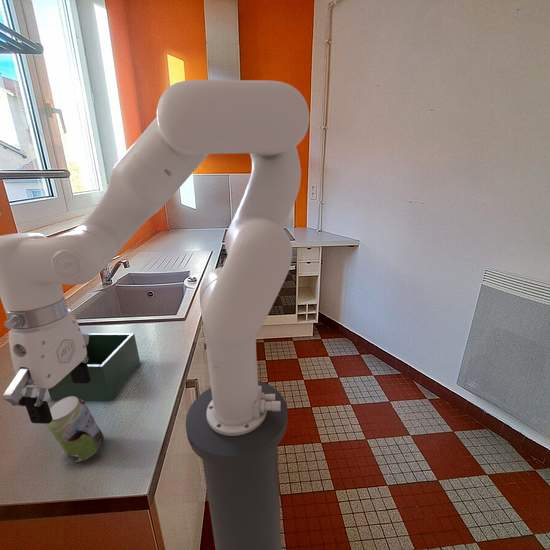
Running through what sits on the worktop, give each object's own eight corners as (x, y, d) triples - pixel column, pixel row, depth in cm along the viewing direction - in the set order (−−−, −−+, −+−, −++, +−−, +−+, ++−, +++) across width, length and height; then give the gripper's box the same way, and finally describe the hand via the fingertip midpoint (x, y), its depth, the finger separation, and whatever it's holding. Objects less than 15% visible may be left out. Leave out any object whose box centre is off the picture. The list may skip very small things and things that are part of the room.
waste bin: (140, 363, 84) (134, 333, 81) (111, 400, 70) (102, 366, 67) (90, 362, 85) (82, 333, 82) (51, 400, 71) (39, 366, 68)
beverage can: (112, 443, 59) (98, 393, 55) (75, 476, 53) (57, 423, 49) (91, 433, 62) (77, 384, 58) (53, 463, 55) (34, 411, 51)
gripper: (13, 342, 39) (46, 442, 45) (95, 292, 55) (112, 370, 61) (-42, 340, 39) (-2, 441, 45) (56, 291, 56) (76, 369, 61)
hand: (63, 400), depth 53 cm, fingers open, 9 cm apart
